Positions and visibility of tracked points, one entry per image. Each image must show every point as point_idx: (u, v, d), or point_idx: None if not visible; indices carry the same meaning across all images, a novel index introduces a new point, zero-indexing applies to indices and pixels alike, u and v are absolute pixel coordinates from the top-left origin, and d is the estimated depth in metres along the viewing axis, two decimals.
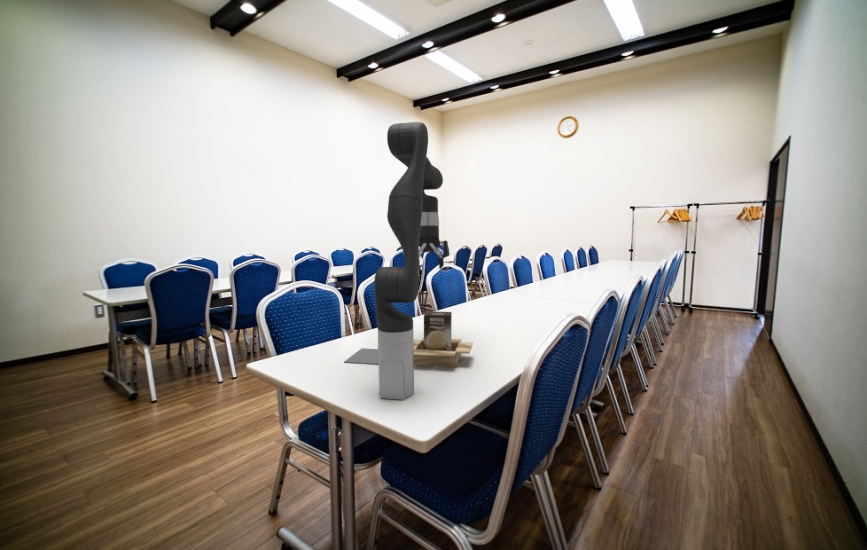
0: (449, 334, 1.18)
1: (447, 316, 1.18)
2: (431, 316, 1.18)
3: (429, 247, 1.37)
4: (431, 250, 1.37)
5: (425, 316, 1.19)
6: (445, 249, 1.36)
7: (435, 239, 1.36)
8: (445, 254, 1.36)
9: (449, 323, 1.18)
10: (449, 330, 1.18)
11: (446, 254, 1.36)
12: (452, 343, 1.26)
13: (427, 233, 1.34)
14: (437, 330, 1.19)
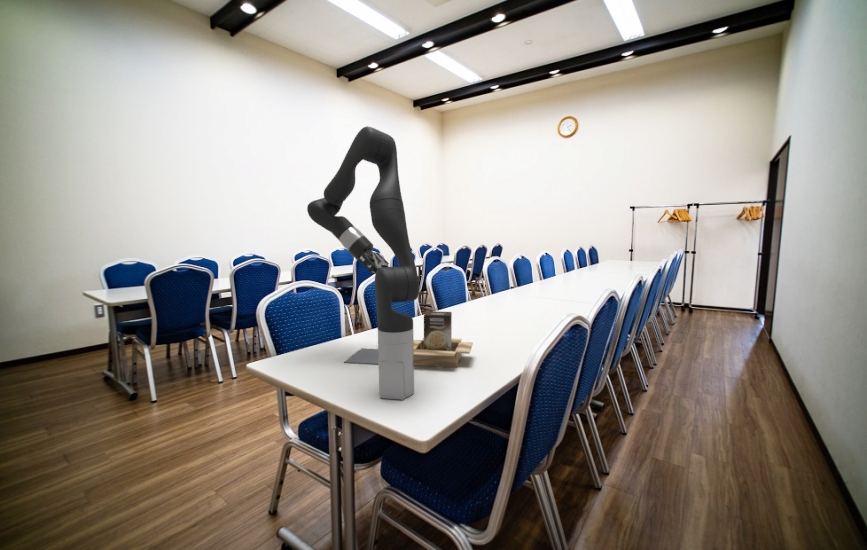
0: (449, 334, 1.18)
1: (447, 316, 1.18)
2: (431, 316, 1.18)
3: (376, 258, 1.24)
4: (378, 260, 1.25)
5: (425, 316, 1.19)
6: (383, 258, 1.30)
7: (372, 252, 1.26)
8: (387, 262, 1.30)
9: (449, 323, 1.18)
10: (449, 330, 1.18)
11: (387, 262, 1.30)
12: (452, 343, 1.26)
13: None
14: (437, 330, 1.19)
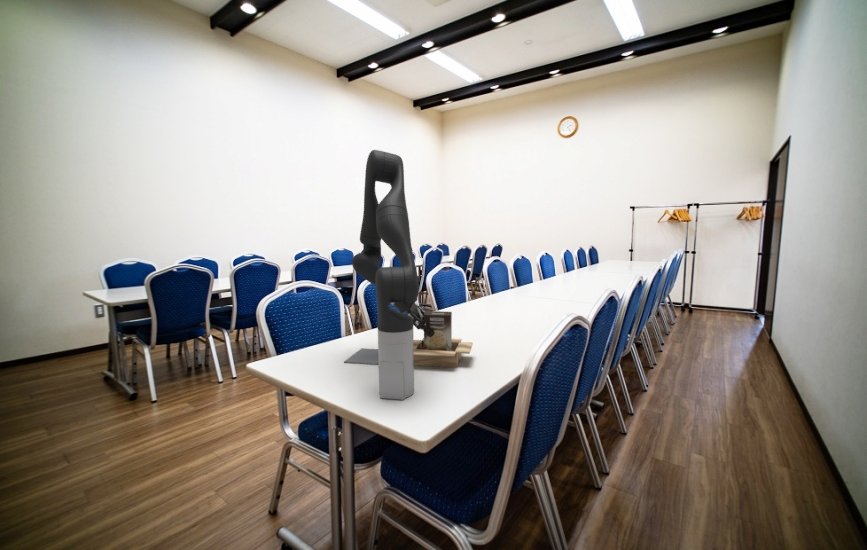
0: (449, 334, 1.19)
1: (447, 316, 1.18)
2: (431, 316, 1.19)
3: None
4: (422, 314, 1.23)
5: (425, 316, 1.19)
6: None
7: (415, 305, 1.25)
8: None
9: (449, 323, 1.18)
10: (449, 330, 1.18)
11: None
12: (452, 343, 1.26)
13: None
14: (437, 330, 1.19)
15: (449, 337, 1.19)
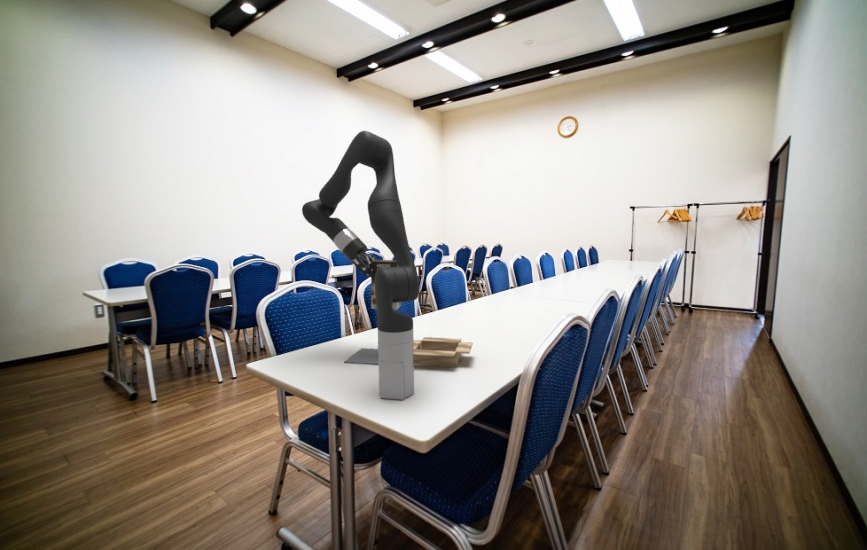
0: None
1: (393, 262, 1.20)
2: (378, 262, 1.21)
3: (369, 260, 1.25)
4: None
5: (372, 262, 1.21)
6: None
7: (366, 253, 1.27)
8: None
9: None
10: None
11: None
12: (452, 343, 1.26)
13: (363, 243, 1.24)
14: None
15: None
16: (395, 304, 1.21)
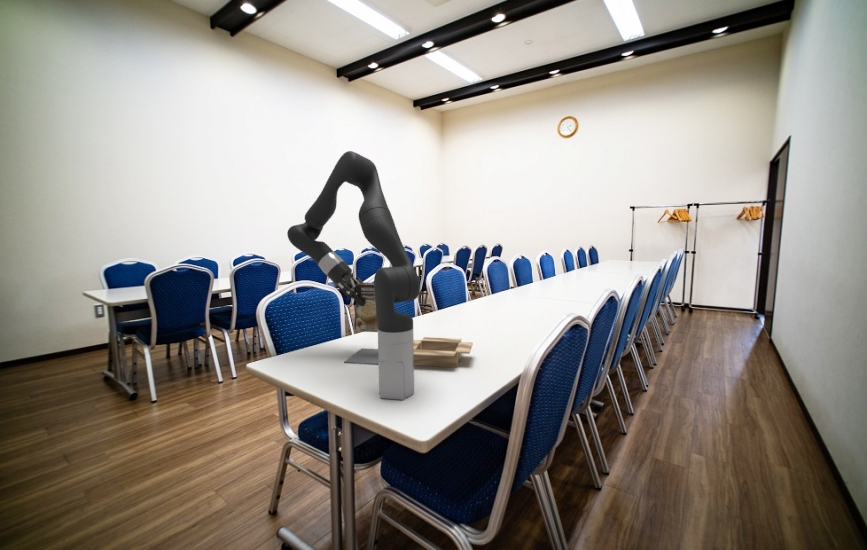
0: None
1: None
2: (362, 286, 1.22)
3: (354, 283, 1.26)
4: None
5: (357, 286, 1.22)
6: None
7: (351, 276, 1.29)
8: None
9: None
10: None
11: None
12: (452, 343, 1.26)
13: (348, 267, 1.26)
14: (368, 300, 1.22)
15: None
16: None
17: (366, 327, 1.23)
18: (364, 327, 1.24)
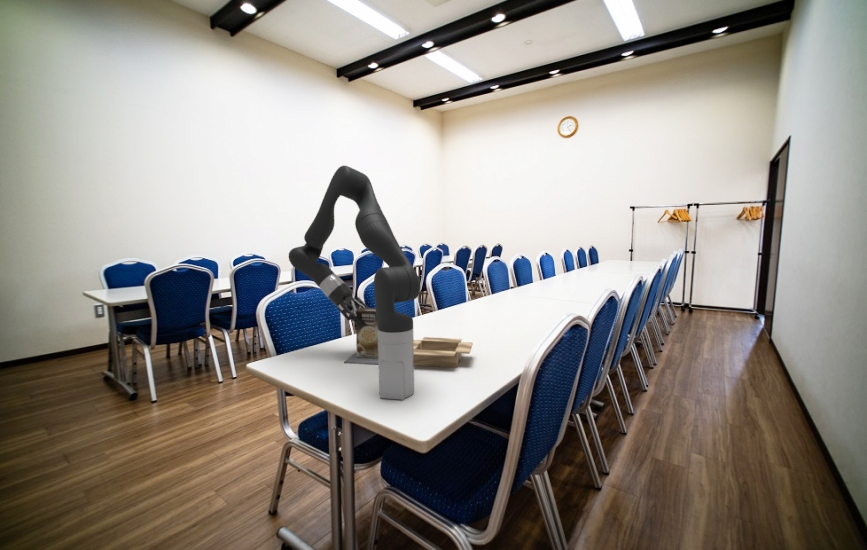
0: None
1: None
2: (363, 312, 1.23)
3: (355, 304, 1.27)
4: (357, 306, 1.28)
5: (357, 312, 1.23)
6: (363, 303, 1.33)
7: (352, 297, 1.29)
8: (366, 306, 1.33)
9: None
10: None
11: (367, 306, 1.33)
12: (452, 343, 1.26)
13: (349, 288, 1.27)
14: (368, 326, 1.23)
15: None
16: None
17: (367, 353, 1.24)
18: (364, 353, 1.24)
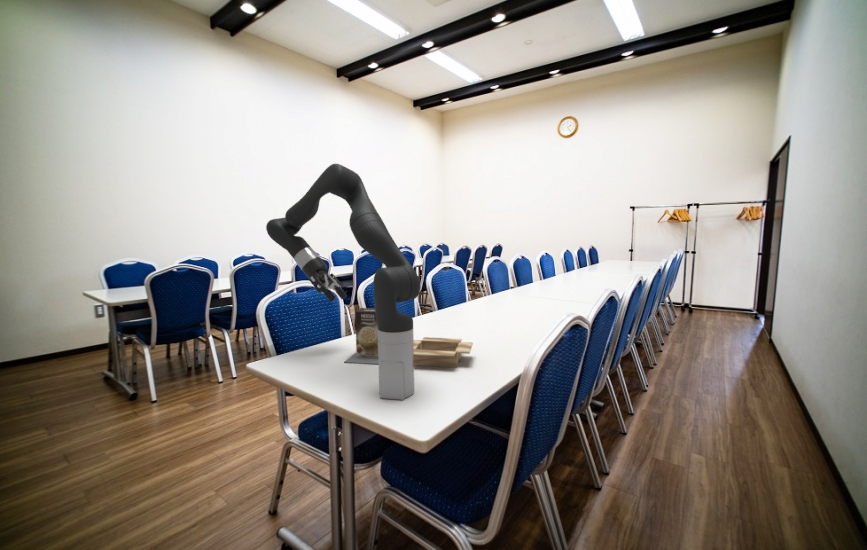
0: None
1: None
2: (362, 312, 1.23)
3: (328, 279, 1.28)
4: (330, 281, 1.29)
5: (357, 312, 1.23)
6: (337, 280, 1.34)
7: (326, 273, 1.30)
8: (340, 283, 1.34)
9: None
10: None
11: (340, 283, 1.34)
12: (452, 343, 1.26)
13: (323, 263, 1.28)
14: (368, 326, 1.23)
15: None
16: None
17: (366, 353, 1.24)
18: (364, 354, 1.24)
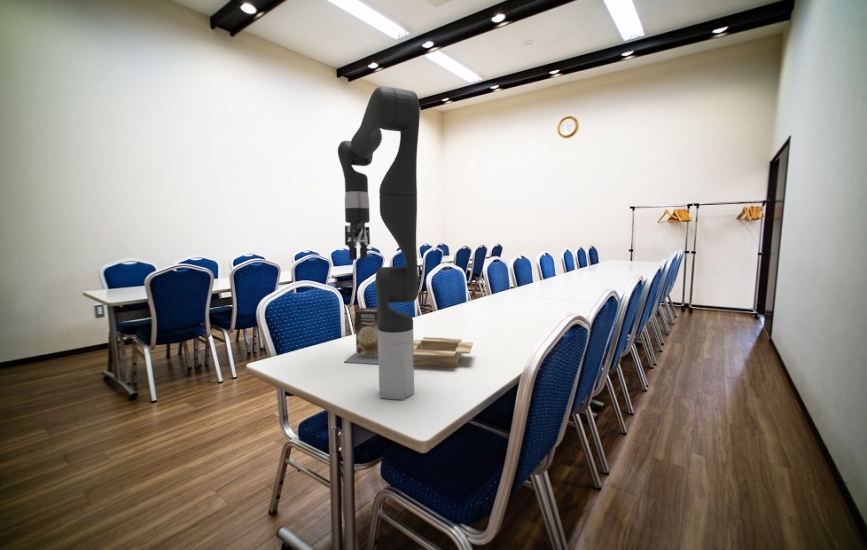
0: None
1: (377, 313, 1.22)
2: (362, 312, 1.23)
3: (361, 234, 1.17)
4: (362, 237, 1.18)
5: (357, 312, 1.23)
6: (369, 236, 1.23)
7: (364, 225, 1.19)
8: (369, 242, 1.23)
9: None
10: None
11: (369, 242, 1.23)
12: (452, 343, 1.26)
13: (368, 217, 1.16)
14: (368, 326, 1.23)
15: None
16: None
17: (366, 353, 1.24)
18: (364, 354, 1.24)
